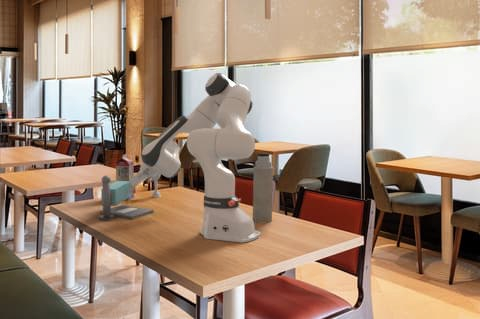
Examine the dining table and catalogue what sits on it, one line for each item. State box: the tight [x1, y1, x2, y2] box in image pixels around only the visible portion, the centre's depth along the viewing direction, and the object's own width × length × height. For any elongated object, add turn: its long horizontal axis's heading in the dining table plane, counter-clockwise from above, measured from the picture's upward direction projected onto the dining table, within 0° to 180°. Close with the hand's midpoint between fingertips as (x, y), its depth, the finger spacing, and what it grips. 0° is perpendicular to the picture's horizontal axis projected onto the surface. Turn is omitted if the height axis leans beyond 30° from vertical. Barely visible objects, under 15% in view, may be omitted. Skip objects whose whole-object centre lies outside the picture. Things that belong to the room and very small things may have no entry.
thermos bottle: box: [252, 152, 274, 223], centre depth 198 cm, size 8×8×28 cm
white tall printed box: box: [115, 153, 135, 201], centre depth 237 cm, size 7×7×22 cm
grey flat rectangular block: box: [99, 204, 155, 220], centre depth 207 cm, size 18×14×1 cm
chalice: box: [151, 173, 162, 199], centre depth 243 cm, size 7×7×18 cm
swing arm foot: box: [97, 214, 117, 222], centre depth 197 cm, size 5×5×1 cm
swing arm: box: [100, 175, 130, 217], centre depth 206 cm, size 24×6×17 cm, turn 176°
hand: (128, 189), depth 214 cm, fingers closed
